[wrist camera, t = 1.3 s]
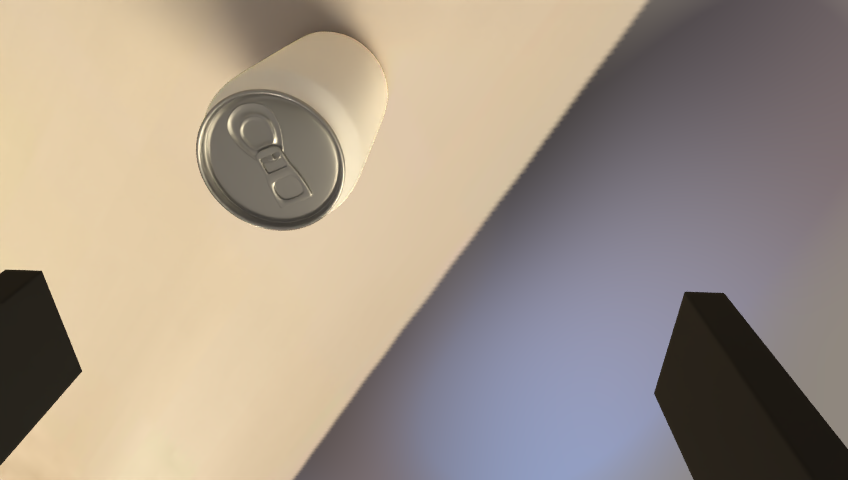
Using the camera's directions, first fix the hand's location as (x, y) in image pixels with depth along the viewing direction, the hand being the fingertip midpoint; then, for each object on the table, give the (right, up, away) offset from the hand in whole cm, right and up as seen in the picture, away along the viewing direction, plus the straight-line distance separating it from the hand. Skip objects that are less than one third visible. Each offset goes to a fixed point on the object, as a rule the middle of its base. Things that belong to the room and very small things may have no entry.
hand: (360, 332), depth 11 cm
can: (-4, +11, +19) cm, 22 cm away
